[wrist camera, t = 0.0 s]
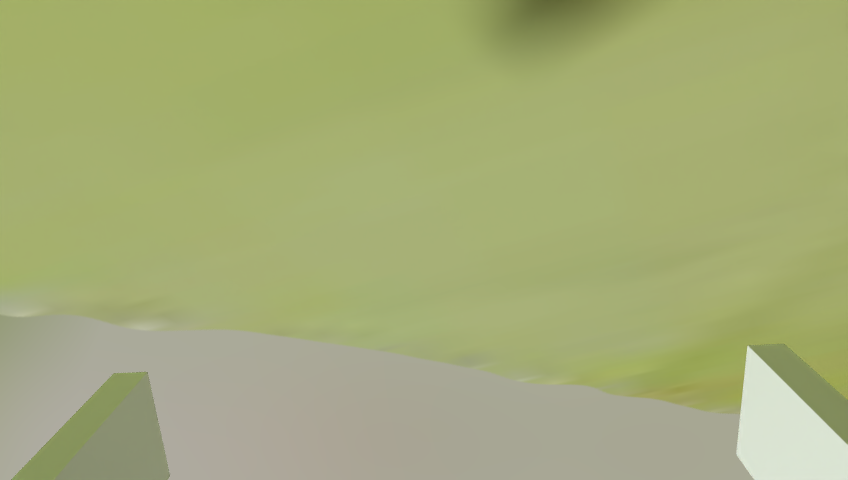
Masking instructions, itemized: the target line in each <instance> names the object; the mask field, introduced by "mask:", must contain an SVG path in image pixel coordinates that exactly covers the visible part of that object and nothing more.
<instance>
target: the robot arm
mask: <svg viewBox="0 0 848 480" xmlns="http://www.w3.org/2000/svg"><path fill="white" fill-rule="evenodd" d="M736 455H737V456H738V457H739V459H740V460H741V462H742V463H743V465H744V466H745V467H746V469H747V470H748V471H749V473H750V474H751V476H752V477H753V478H754V480H848V400H847V399H846V398H845V397H844V396H842V395H841V394H840V393H839V392H838V391H837V390H836V389H835V388H833V387H832V386H831V385H830V384H829V383H828V382H827V381H826V380H824V379H823V378H822V377H821V376H820V375H819V374H818V373H817V372H815V371H814V370H813V369H812V368H811V367H810V366H809V365H807V364H806V363H805V362H804V361H803V360H802V359H801V358H800V357H798V356H797V355H796V354H795V353H794V352H793V351H792V350H791V349H789V348H788V347H787V346H786V345H785V344H769V345H748V347H747V357H746V367H745V376H744V386H743V395H742V405H741V415H740V424H739V434H738V443H737V453H736ZM169 477H170V474H169V469H168V464H167V460H166V455H165V450H164V446H163V441H162V437H161V432H160V427H159V423H158V418H157V414H156V409H155V404H154V400H153V396H152V391H151V386H150V381H149V377H148V372H136V373H114V374H113V375H112V376H111V377H110V378H109V379H108V380H107V381H106V382H105V383H104V384H103V385H102V386H101V387H100V388H99V389H98V390H97V392H95V394H94V395H93V396H92V397H91V398H90V399H89V400H88V401H87V402H86V403H85V404H84V405H83V406H82V407H81V408H80V409H79V410H78V411H77V412H76V413H75V414H74V415H73V416H72V417H71V418H70V420H69V421H67V422H66V424H65V425H64V426H63V427H62V428H61V429H60V430H59V431H58V432H57V433H56V434H55V435H54V436H53V437H52V438H51V439H50V440H49V441H48V442H47V443H46V444H45V445H44V446H43V447H42V448H41V449H40V450H39V452H38V453H37V454H36V455H35V456H34V457H33V458H32V459H31V460H30V461H29V462H28V463H27V464H26V465H25V466H24V467H23V468H22V469H21V470H20V471H19V472H18V473H17V474H16V475H15V476H14V477H13V479H11V480H168V478H169Z"/></svg>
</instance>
